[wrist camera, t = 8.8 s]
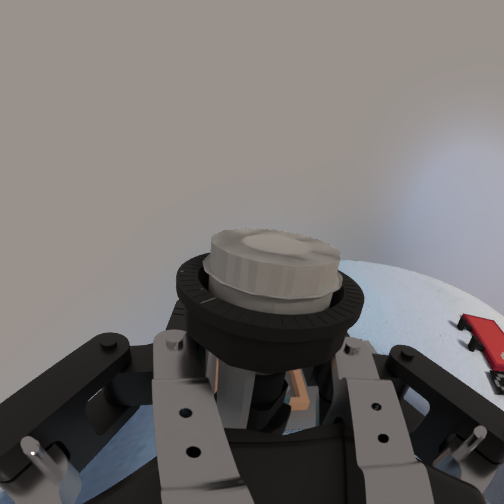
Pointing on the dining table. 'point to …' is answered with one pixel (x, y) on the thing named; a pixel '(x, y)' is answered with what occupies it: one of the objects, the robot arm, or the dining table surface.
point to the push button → (265, 317)
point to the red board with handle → (487, 343)
